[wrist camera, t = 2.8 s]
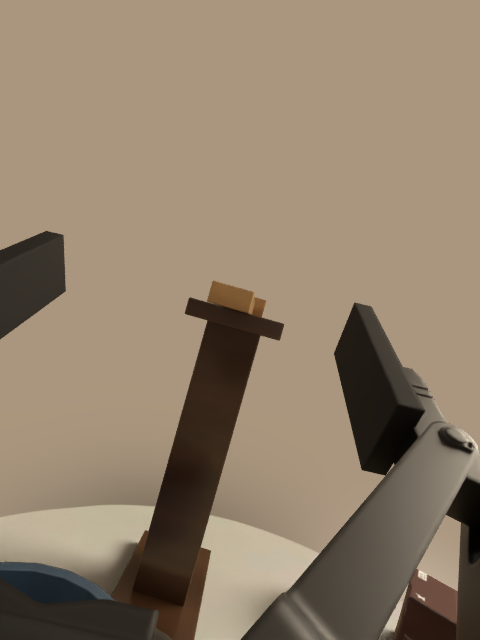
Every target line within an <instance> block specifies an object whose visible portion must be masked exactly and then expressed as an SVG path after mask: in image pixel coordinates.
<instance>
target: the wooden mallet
mask: <svg viewBox="0 0 480 640" xmlns="http://www.w3.org/2000/svg"><path fill="white" fill-rule="evenodd" d="M207 301H208V302H210V303H213V304H216V305H219V306H222V307H226V308H229V309H233V310H236V311H240V312H243V313H247V314H251V315H254V316H258V317H262V314H263V310H264V307H265V303H266V300H262V299H259V298H255V297H254V292H252V291H248V290H244V289H241V288H237V287H234V286H230V285H226V284H223V283H219V282H216V281H213V282H212V286H211V289H210V293H209V296H208V300H207Z"/></svg>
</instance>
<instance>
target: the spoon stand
mask: <svg viewBox="0 0 480 640" xmlns="http://www.w3.org/2000/svg"><path fill="white" fill-rule="evenodd" d="M185 314H187V315H190V316H194V317H198V318H201V319H205V320H208V321H207V324H206V328H205V331H204V335H203V338H202V342H201V346H200V350H199V353H198V357H197V360H196V364H195V367H194V371H193V375H192V378H191V381H190V385H189V389H188V392H187V396H186V400H185V403H184V406H183V410H182V414H181V417H180V421H179V424H178V428H177V431H176V435H175V439H174V442H173V446H172V449H171V453H170V456H169V460H168V464H167V467H166V471H165V474H164V478H163V482H162V485H161V489H160V492H159V496H158V499H157V503H156V507H155V510H154V514H153V517H152V521H151V524H150V528H149V531H146V530H145V532H144V534H143V536H142V537H141V539H140V541H139V543H138V545H137V547H136V549H135V551H134V553H133V555H132V557H131V559H130V561H129V563H128V564H127V566H126V568H125V570H124V572H123V574H122V576H121V578H120V580H119V582H118V584H117V586H116V588H115V590H114V592H113V593H112V595H111V597H112V598H113V599H114V600H115V601H118V602H122V603H126V604H131V605H135V606H140V607H144V608H149V609H153V610H157V611H159V614H158V619H157V624H156V628H157V629H159V630H160V631H162V632H163V633H165V634H166V635H168V636H169V637H170V638H171V639H172V640H194V637H195V632H196V627H197V622H198V616H199V611H200V606H201V601H202V595H203V590H204V585H205V580H206V574H207V569H208V564H209V559H210V553H211V551H210V550H207V549H204V548H201V544H202V540H203V537H204V533H205V530H206V526H207V523H208V519H209V516H210V512H211V509H212V505H213V502H214V498H215V494H216V491H217V487H218V484H219V480H220V477H221V473H222V470H223V466H224V463H225V459H226V456H227V452H228V449H229V445H230V441H231V438H232V434H233V430H234V427H235V424H236V420H237V417H238V413H239V410H240V406H241V403H242V399H243V395H244V392H245V388H246V385H247V381H248V378H249V374H250V371H251V367H252V364H253V360H254V356H255V353H256V350H257V346H258V342H259V338H260V335H261V336H265V337H268V338H272V339H276V340H280V338H281V334H282V330H283V327H284V324H282V323H279V322H275V321H272V320H268V319H265V318H261V317H258V316H254V315H251V314H247V313H243V312H240V311H236V310H233V309H229V308H226V307H222V306H219V305H215V304H211V303H208V302H204V301H200V300H197V299H194V298H189V300H188V304H187V307H186V311H185Z"/></svg>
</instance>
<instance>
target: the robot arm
mask: <svg viewBox="0 0 480 640" xmlns="http://www.w3.org/2000/svg"><path fill="white" fill-rule="evenodd" d="M65 291H66V289H65V264H64V239H63V235H61V234H57V233H52V232H48V231H45V232H43V233H40V234H38V235H36V236H33V237H31V238H29V239H26V240H24V241H21V242H19V243H17V244H14V245H12V246H9V247H7V248H5V249H2V250H0V339H1V338H3V337H4V336H5V335H7V334H8V333H9V332H11V331H12V330H13V329H15V328H16V327H18V326H19V325H20V324H21V323H23V322H24V321H26V320H27V319H29V318H30V317H31V316H33V315H34V314H35V313H37V312H38V311H39V310H41V309H42V308H43V307H45V306H46V305H47V304H49V303H50V302H51V301H53V300H54V299H56V298H57V297H58V296H60V295H61V294H62V293H64V292H65ZM334 355H335V360H336V364H337V368H338V372H339V376H340V381H341V385H342V389H343V393H344V397H345V402H346V406H347V410H348V414H349V418H350V423H351V427H352V431H353V435H354V439H355V444H356V448H357V452H358V456H359V460H360V465H361V468H362V470H364V471H368V472H373V473H377V474H381V475H386V474H387V472H388V471H389V469H390V468H391V466H392V464H393V463H394V465H395V466H394V467H393V468H392V469H391V470H390V472H389V473H388V474H387V475H386V476H385V477H384V479H383V480H382V481H381V482H380V483H379V485H378V486H377V487H376V488H375V489H374V490H373V492H372V493H371V494H370V495H369V496H368V497H367V499H366V500H365V501H364V502H363V503H362V504H361V506H360V507H359V508H358V509H357V511H356V512H355V513H354V514H353V515H352V516H351V517H350V519H349V520H348V521H347V522H346V523H345V525H344V526H343V527H342V528H341V529H340V531H339V532H338V533H337V534H336V535H335V536H334V538H333V539H332V540H331V541H330V542H329V543H328V545H327V546H326V547H325V548H324V549H323V550H322V552H321V553H320V554H319V555H318V556H317V558H316V559H315V560H314V561H313V562H312V563H311V565H310V566H309V567H308V568H307V569H306V571H305V572H304V573H303V574H302V575H301V576H300V578H299V579H298V580H297V581H296V582H295V583H294V585H293V586H292V587H291V588H290V589H289V590H288V591H287V592H286V593H282V594H281V595H280V596H279V597H278V598H277V599H276V600H275V601H274V602H273V603H272V604H271V605H270V606H269V607H268V608H267V610H266V611H265V612H264V613H263V614H262V615H261V617H260V618H259V619H258V620H257V621H256V622H255V624H254V625H253V626H252V627H251V628H250V629H249V631H248V632H247V633H246V634H245V635H244V636H243V637H242V639H241V640H378V638H379V636H380V634H381V633H382V631H383V629H384V627H385V625H386V623H387V622H388V620H389V618H390V616H391V614H392V612H393V611H394V609H395V607H396V605H397V603H398V601H399V600H400V598H401V596H402V594H403V592H404V590H405V588H406V587H407V585H408V583H409V581H410V579H411V577H412V576H413V574H414V572H415V570H416V568H417V566H418V565H419V563H420V561H421V559H422V557H423V555H424V554H425V552H426V550H427V548H428V546H429V544H430V543H431V541H432V539H433V537H434V535H435V533H436V531H437V529H438V528H439V526H440V524H441V522H442V520H443V519H444V517H445V515H448V516H449V517H451V518H453V519H455V520H457V521H459V522H461V536H460V558H459V581H458V604H457V626H456V640H480V453H479V449H478V446H477V444H476V442H475V441H474V440H473V439H472V438H471V437H470V436H469V435H468V434H467V433H466V432H464V431H463V430H462V429H460V428H459V427H456V426H455V425H453V424H451V423H447V421H446V419H445V417H444V416H443V414H442V412H441V410H440V409H439V407H438V405H437V404H436V402H435V400H434V399H432V398H433V397H432V395H431V393H430V391H428V388H427V386H426V384H425V383H424V381H423V379H422V378H421V377H420V376H419V375H418V374H416V372H414V371H413V370H412V369H409V368H405V367H402V365H401V363H400V361H399V359H398V357H397V355H396V353H395V351H394V349H393V347H392V345H391V343H390V341H389V340H388V338H387V336H386V334H385V332H384V330H383V328H382V326H381V324H380V322H379V320H378V318H377V316H376V314H375V313H374V311H373V309H372V307H371V306H366V305H362V304H358V303H354V305H353V308H352V310H351V313H350V315H349V318H348V320H347V323H346V325H345V328H344V330H343V332H342V335H341V337H340V340H339V342H338V345H337V347H336V350H335V352H334ZM158 614H159V611H157V610H153V609H149V608H144V607H140V606H135V605H131V604H126V603H122V602H118V601H113V600H109V599H97V600H85V601H72V602H60V603H48V604H44V603H39V602H37V601H35V600H34V599H32V598H31V597H29V596H28V595H26V594H24V593H23V592H21V591H20V590H18V589H17V588H15V587H14V586H12V585H11V584H9V583H8V582H6V581H5V580H3V579H2V578H0V640H172V639H171V638H170V637H169V636H168V635H166V634H165V633H163V632H162V631H160V630H159V629H157V628H156V624H157V619H158Z"/></svg>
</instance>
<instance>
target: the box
mask: <svg viewBox="0 0 480 640" xmlns="http://www.w3.org/2000/svg"><path fill="white" fill-rule="evenodd" d="M457 604H458V591H456V590H454V589H452V588H450V587H448V586H447V585H445V584H443V583H441V582H439V581H438V580H436V579H434V578H432V577H430V576H429V575H427V574H425V573H423V572H421V571H419V570H417V569H416V570H415V572H414V574H413V576H412V577H411V579H410V581H409V585H408V588H407V592H406V596H405V599H404V602H403V606H402V610H401V613H400V617H399V620H398V623H397V626H396V629H395V634H394V638H393V640H456V626H457Z"/></svg>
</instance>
